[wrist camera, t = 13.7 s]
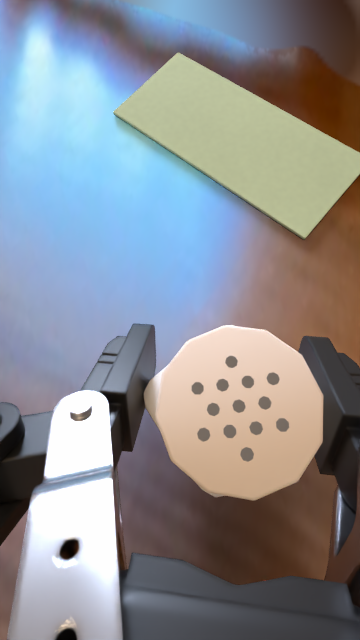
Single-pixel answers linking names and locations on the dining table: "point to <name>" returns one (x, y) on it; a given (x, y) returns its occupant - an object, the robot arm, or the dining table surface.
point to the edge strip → (243, 143)
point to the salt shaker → (238, 412)
